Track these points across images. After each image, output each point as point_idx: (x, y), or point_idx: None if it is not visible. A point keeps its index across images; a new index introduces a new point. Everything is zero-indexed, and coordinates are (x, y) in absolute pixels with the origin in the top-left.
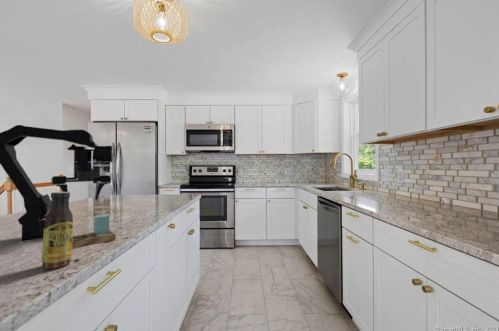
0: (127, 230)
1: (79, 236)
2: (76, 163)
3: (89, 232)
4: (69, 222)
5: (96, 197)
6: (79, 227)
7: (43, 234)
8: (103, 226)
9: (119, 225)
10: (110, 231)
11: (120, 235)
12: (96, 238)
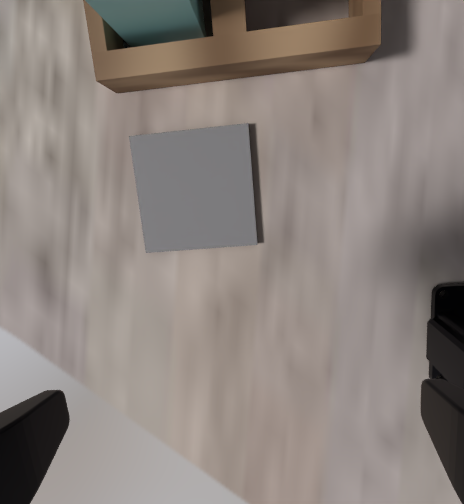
0: (12, 177)
1: (283, 30)
2: None
3: (213, 247)
4: None
5: (26, 408)
6: (251, 437)
7: (450, 316)
8: None
9: (48, 341)
10: (92, 16)
11: (56, 70)
12: None
